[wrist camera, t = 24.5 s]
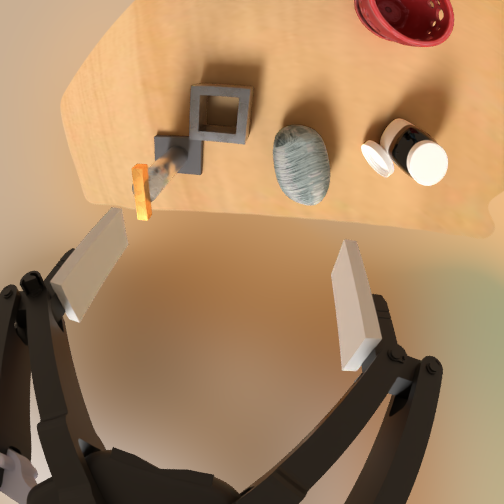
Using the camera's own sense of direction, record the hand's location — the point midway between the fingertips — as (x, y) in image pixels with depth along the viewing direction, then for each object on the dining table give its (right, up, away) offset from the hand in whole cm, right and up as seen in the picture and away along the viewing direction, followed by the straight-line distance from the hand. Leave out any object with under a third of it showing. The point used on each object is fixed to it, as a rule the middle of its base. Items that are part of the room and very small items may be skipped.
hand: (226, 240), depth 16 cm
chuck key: (-12, +17, +32) cm, 38 cm away
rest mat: (-12, +17, +32) cm, 39 cm away
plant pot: (+23, +38, +12) cm, 46 cm away
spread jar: (+26, +18, +27) cm, 42 cm away
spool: (+10, +16, +31) cm, 36 cm away
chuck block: (-3, +23, +27) cm, 35 cm away
